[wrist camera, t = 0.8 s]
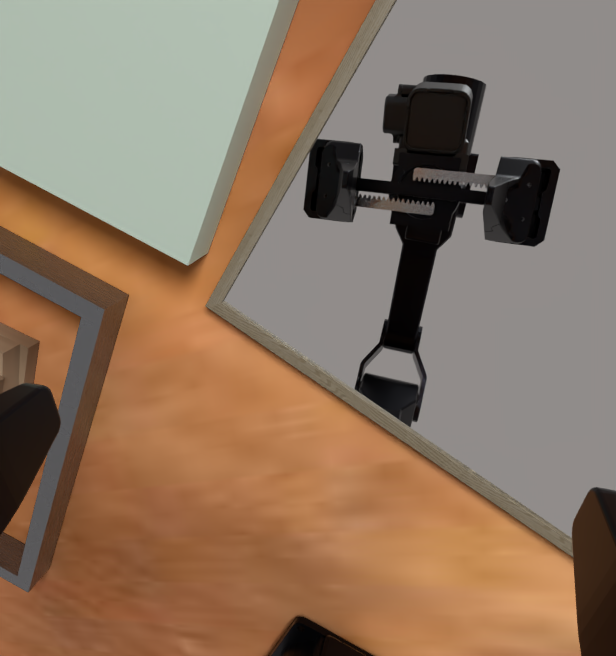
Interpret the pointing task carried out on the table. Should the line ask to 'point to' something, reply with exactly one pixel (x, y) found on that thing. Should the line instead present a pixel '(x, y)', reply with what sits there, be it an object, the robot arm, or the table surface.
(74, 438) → the offcut tray
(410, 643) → the table surface
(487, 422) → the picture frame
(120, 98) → the green board
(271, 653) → the robot arm
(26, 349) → the offcut stack
